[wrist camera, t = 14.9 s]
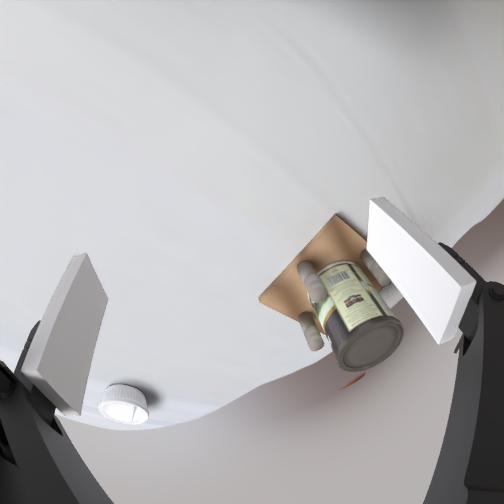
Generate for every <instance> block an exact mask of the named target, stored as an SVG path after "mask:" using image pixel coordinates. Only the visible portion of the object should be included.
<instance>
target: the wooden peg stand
mask: <svg viewBox="0 0 504 504" xmlns="http://www.w3.org/2000/svg"><path fill="white" fill-rule="evenodd" d="M338 261H350V262H353V263H355V264H357V265H359V267H360V268H361V269H362V271H363V273H364V274H365V275H366V277H367V278H368V279H369V281H370V282H371V283H372V285H373V286H374V288H375V289H376V290H377V292H378V293H379V292H380V291H381V290H382V289H383V288H384V287H385V286H388V285H389V284H391V283H392V281H391V279H390V278H389V277H388V275H387V274H386V273H385V272H384V270H383V269H382V268H381V267H380V265H379V264H378V263H377V262H376V260H375V259H374V258H373V257H372V255H371V254H370V253H369V252H368V251H367V241H366V240H365V239H364V238H363V237H361V236H360V235H359V234H358V233H357V232H356V231H355V230H353V229H352V228H351V227H350V226H349V225H348V224H346V223H345V222H344V221H343V220H342V219H341V218H339V217H338V216H337V215H336V214H335V215H334V216H333V217H332V218H331V219H330V220H329V221H328V222H327V223H326V225H325V226H324V227H323V228H322V229H321V230H320V231H319V232H318V234H317V235H316V236H315V237H314V238H313V239H312V240H311V241H310V242H309V243H308V245H307V246H306V247H305V248H304V249H303V250H302V251H301V252H300V253H299V254H298V256H297V257H296V258H295V259H294V260H293V261H292V262H291V263H290V264H289V265H288V266H287V267H286V269H285V270H284V271H283V272H282V273H281V274H280V275H279V276H278V277H277V278H276V279H275V280H274V281H273V283H272V284H271V285H270V286H269V287H268V288H267V289H266V290H265V291H264V292H263V293H262V294H261V295H260V296H259V297H258V298H259V302H260V303H262V304H264V305H266V306H268V307H270V308H272V309H274V310H276V311H278V312H280V313H282V314H284V315H286V316H288V317H290V318H292V319H294V320H296V321H298V322H300V325H301V327H302V330H303V332H304V335H305V337H306V340H307V343H308V345H309V348H310V350H312V351H317V350H320V349H321V348H322V347H323V346H324V342H323V340H322V337H321V335H320V333H319V332H321V333H323V334H325V332H324V330H323V328H322V326H321V324H320V321H319V319H318V317H317V315H316V313H315V311H314V309H313V307H312V305H311V303H310V302H309V299H308V295H307V292H308V294H309V296H310V298H311V300H312V301H313V302H315V303H318V302H322V301H323V300H325V299H326V297H327V295H328V293H327V290H326V289H325V287H324V285H323V283H322V281H321V279H320V278H319V276H318V274H317V273H318V272H319V271H320V270H321V269H323V268H324V267H326V266H327V265H329V264H332V263H335V262H338ZM325 335H326V334H325Z"/></svg>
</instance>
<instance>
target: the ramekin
mask: <svg viewBox="0 0 504 504" xmlns="http://www.w3.org/2000/svg"><path fill="white" fill-rule="evenodd" d="M99 411H100V412H101V414H102V415H103V416H105V417H107V418H108V419H110V420H112V421H115V422H118V423H123V424H139V423H143V422H145V421H146V420H147V419H148V417H149V412H148V410H147V404H146V399H145V396H144V395H143V393H142V392H141V391H139V390H138V389H136V388H134V387H132V386H128V385H123V384H115V385H111V386H109V387H108V388H107V389H106V390H105V391H104V394H103V396H102V399H101V401H100V403H99Z"/></svg>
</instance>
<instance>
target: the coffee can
mask: <svg viewBox="0 0 504 504" xmlns="http://www.w3.org/2000/svg"><path fill="white" fill-rule="evenodd" d="M317 274H318V276H319V278H320V279H321V281H322V283H323V285H324V287H325V289H326V290H327V293H328V295H327V297H326V299H325V300H323V301H322V302H318V303H315V302H313V301H312V300H311V298H310V296H309V294H308V292H307V295H308V299H309V302H310V303H311V305H312V307H313V309H314V311H315V313H316V315H317V317H318V319H319V321H320V324H321V326H322V328H323V330H324V332H325V334H326V337H327V339H328V341H329V343H330V346H331V348H332V350H333V352H334V354H335V356H336V360H337V363H338V365H339V367H340V368H341V369H343V370H345V371H349V372H357V371H362V370H366V369H369V368H371V367H374V366H376V365H377V364H379V363H381V362H382V361H384V360H385V359H387V358H388V357H389V356H390V355H391V354H392V353H393V352H394V351H395V350H396V349H397V348H398V346H399V345H400V343H401V341H402V339H403V336H404V327H403V325H402V324H401V322H400V321H399V320H398V319H397V318H396V317H395V315H394V314H393V313H392V311H391V310H390V308H389V307H388V305H387V304H386V303H385V301H384V300H383V298H382V297H381V296H380V294H379V293H378V292H377V290H376V289H375V288H374V286H373V285H372V283H371V282H370V281H369V279H368V278H367V277H366V275H365V274H364V273H363V271H362V269H361V268H360V267H359V265H357V264H355V263H353V262H350V261H338V262H335V263H332V264H329V265H327V266H326V267H324V268H323V269H321V270H320V271H319V272H318V273H317Z"/></svg>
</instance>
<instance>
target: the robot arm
mask: <svg viewBox="0 0 504 504" xmlns="http://www.w3.org/2000/svg"><path fill="white" fill-rule="evenodd" d="M367 251H368V252H369V253H370V254H371V255H372V257H373V258H374V259H375V260H376V262H377V263H378V264H379V265H380V267H381V268H382V269H383V270H384V272H385V273H386V274H387V275H388V277H389V278H390V279H391V281H392V282H393V283H394V284H395V286H396V287H397V288H398V290H399V291H400V292H401V294H402V295H403V296H404V298H405V299H406V300H407V302H408V303H409V304H410V305H411V307H412V308H413V310H414V311H415V312H416V314H417V315H418V316H419V318H420V319H421V321H422V322H423V323H424V325H425V326H426V328H427V329H428V330H429V332H430V333H431V334H432V336H433V338H434V339H435V340H436V342H437V343H438V345H439V344H442V343H444V342H446V341H449V340H451V339H453V338H454V336H455V334H456V331H457V329H458V327H459V328H460V330H461V331H462V332H463V334H462V336H461V338H460V340H459V343H458V344H457V347H456V348H455V351H454V353H457V351H458V349H459V348H460V349H459V358H458V367H457V374H456V381H455V388H454V394H453V399H452V404H451V409H450V414H449V419H448V424H447V428H446V432H445V436H444V440H443V444H442V448H441V451H440V455H439V459H438V462H437V465H436V468H435V472H434V475H433V478H432V481H431V484H430V486H429V490H428V492H427V495H426V497H425V500H424V502H423V504H504V285H502V284H500V283H498V282H492V281H490V282H486V281H484V279H483V278H482V277H481V276H480V275H479V274H478V273H477V272H476V271H475V270H474V269H473V268H472V267H471V266H470V265H469V264H468V263H465V260H463V259H462V258H461V257H459V255H458V254H457V253H456V252H455V251H454V250H453V249H452V248H450V247H448V246H447V245H445V244H443V243H441V242H440V243H437V242H436V241H434V240H433V239H432V238H431V237H430V236H429V235H428V234H427V233H426V232H424V231H423V230H422V229H421V228H420V227H419V226H418V225H417V224H415V223H414V222H413V221H412V220H411V219H410V218H408V217H407V216H406V215H405V214H404V213H402V212H401V211H400V210H399V209H398V208H396V207H395V206H394V205H393V204H392V203H390V202H389V201H388V200H387V199H385V198H384V197H381V198H375V199H370V207H369V223H368V237H367ZM107 302H108V297H107V295H106V293H105V291H104V289H103V287H102V285H101V283H100V281H99V279H98V277H97V275H96V272H95V270H94V268H93V266H92V264H91V261H90V259H89V257H88V255H87V253H85V254H80V255H76V256H73V258H72V260H71V261H70V263H69V265H68V267H67V269H66V271H65V273H64V274H63V276H62V278H61V280H60V282H59V284H58V286H57V288H56V290H55V292H54V294H53V296H52V298H51V300H50V302H49V304H48V307H47V309H46V311H45V313H44V315H43V317H42V320H41V321H38V322H37V324H36V325H35V326H34V327H33V329H32V330H31V332H30V334H29V336H28V339H27V342H26V343H25V346H24V349H23V351H22V353H21V356H20V358H19V361H18V363H17V366H16V369H15V371H14V374H13V372H12V371H11V370H10V369H9V368H8V367H7V366H6V364H5V363H4V362H3V361H0V504H114V503H113V502H112V501H111V499H110V498H109V497H108V496H107V494H106V493H105V492H104V490H103V489H102V488H101V486H100V485H99V483H98V482H97V481H96V479H95V478H94V476H93V475H92V473H91V472H90V470H89V469H88V467H87V466H86V464H85V463H84V461H83V460H82V458H81V457H80V455H79V454H78V452H77V450H76V449H75V447H74V445H73V444H72V442H71V440H70V439H69V437H68V435H67V434H66V432H65V430H64V428H63V426H62V425H61V423H60V421H59V420H58V418H57V417H56V416H55V415H54V413H55V409H56V408H57V409H58V410H59V411H60V412H61V413H62V414H63V415H64V416H80V415H81V410H82V404H83V399H84V394H85V389H86V384H87V379H88V375H89V370H90V366H91V362H92V357H93V353H94V349H95V345H96V341H97V337H98V334H99V330H100V326H101V323H102V319H103V316H104V312H105V309H106V305H107Z"/></svg>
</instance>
